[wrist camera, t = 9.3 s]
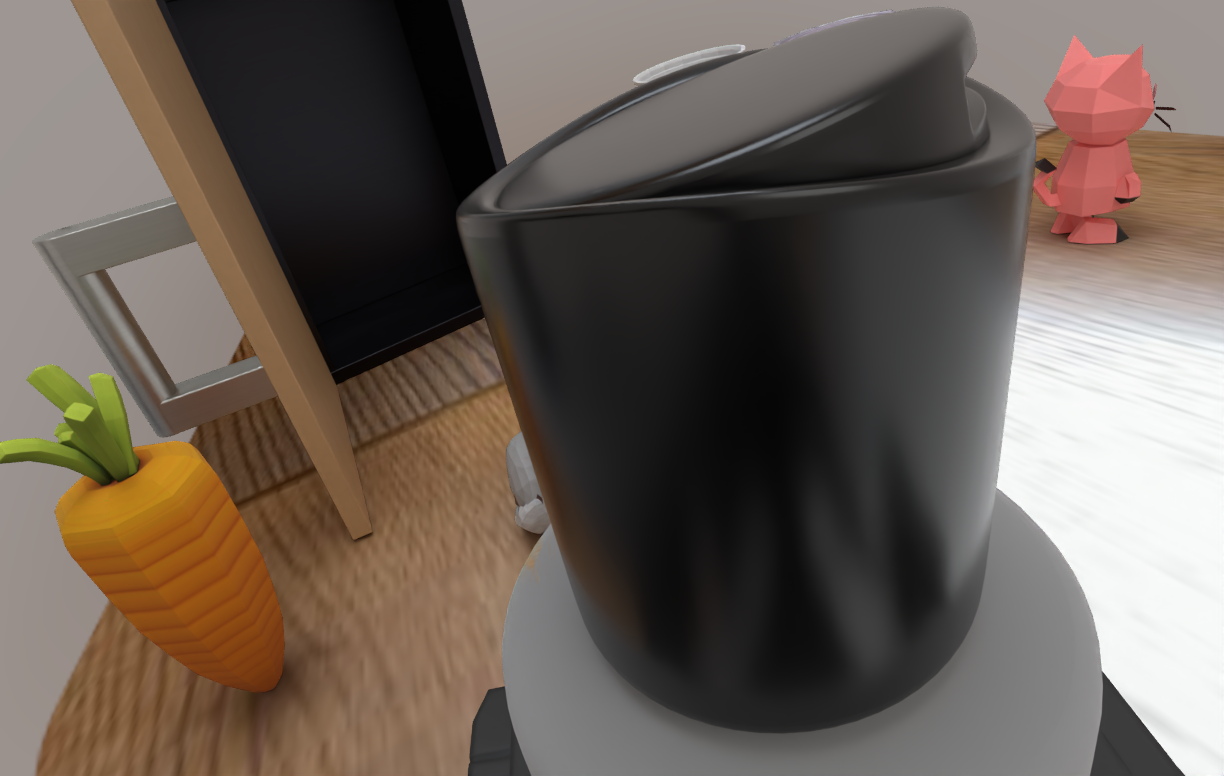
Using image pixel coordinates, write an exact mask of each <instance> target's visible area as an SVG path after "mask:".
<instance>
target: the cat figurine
mask: <svg viewBox="0 0 1224 776" xmlns="http://www.w3.org/2000/svg"><path fill="white" fill-rule="evenodd" d="M1142 54H1143V45H1141V46H1140V47H1139V48H1138V49H1137V50H1136V51H1135V52H1134V53H1133V54H1132V55H1108V56H1103V57H1097V58H1093V57H1092V55H1091V54H1090V53H1089V52H1088V51H1087V49H1086V48H1085V47H1084V46H1083V45H1082V43H1081V42H1080V41H1079V40H1078V39H1077V37H1076V36H1075V35H1074V37H1073V40H1072V42H1071V44H1070V46H1069V49H1068V51H1067V53H1066V56H1065V58H1064V61H1063V63H1062V65H1061V68H1060V70H1059V73H1058V75H1057V77H1056V80H1055V82H1054V83H1053V85H1052V87H1051V89H1050V91H1049V93H1048V94H1047V96H1046V98H1045V100H1044V102H1045V103H1046V106H1047V107H1048V109H1049V111H1050V113H1051V116H1052V117H1053V120H1054V121H1055V123H1056V124H1057V126H1058V128H1059V129H1060V130H1061V131H1063V132H1064V133H1066V134H1067V135H1069V136H1070V137H1072V138H1073V139H1074V140H1071V141H1069V143H1068V145H1067V147H1066V149H1065V151H1064V153H1063V155H1062V157H1061V159H1060V161H1059V163H1058V165H1057V168H1056V167H1055V166H1053V165H1052V164H1051V163H1050V162H1049V161H1048V160H1046V159H1045V158H1044V159H1042V160H1040V161H1037V162H1036V164H1035V167H1036V168H1038V169H1039V170H1041V172H1040V173H1039V175H1038V176H1037V177H1036V178H1035V179H1034V185H1033V190H1034V192H1035V193H1036V194H1037V196H1038V197H1039V199H1040V200H1041V201H1042V203H1043V204H1045V205H1047V206H1053V207H1054V208H1055V210H1056V211H1058V212H1059V214H1058V216H1057V219H1056V221H1055V223H1054V225H1053V227H1052V229H1051V231H1050V232H1053V233H1056V234H1061V233H1070V232H1072V233H1071V234H1070V235H1069V237H1068V238H1067V239H1068V241H1069V242H1074V243H1084V244H1097V243H1117V242H1119V241H1122V240H1124V239H1127V238H1129V237H1128V236H1127V235H1126V234H1125V233H1124V232H1123V230H1122V229H1121V228H1120V226H1119V225H1118V224H1117V223H1116V221H1115V220H1114V219H1108V218H1094V216H1093V215H1096V214H1102V213H1108V212H1113V211H1116V210H1119V209H1122V208H1125V207H1128V206H1129V205H1130V202H1133V201H1134V200H1135V199H1137V198H1138V197H1140V193H1141V181H1140V179H1139V177H1138V175H1137V173H1134V171H1133V166H1132V162H1131V157H1130V153H1129V148H1128V143H1127V140H1126V139H1125V137H1127V136H1128V135H1130V134H1132V133H1133V132H1135V131H1137V130H1139V129H1140V128H1142V127H1143V126H1144V124H1145V123H1146V122H1147V120H1148V118H1149V117H1150V115H1151V114H1152V112H1153V111H1154V103H1155V101H1153V100H1154V97H1155V94H1156V87H1157V85H1156V84H1155V86H1154V89H1153V94H1152V88H1151V81H1150V75H1149V74H1148V73H1147V72H1146V71H1145V69H1144V68H1143V67H1142ZM1156 109H1159V110H1176V109H1174V108H1171V107H1170V108H1169V107H1156ZM1155 116H1156V117H1157V118H1159V119H1160V120H1161V121H1162V122H1163V123H1164V124H1165V125H1166V126H1167V127H1169V129H1170V130H1171V128H1170V125H1168V124H1167V123H1166V122H1165V121H1164V120H1163V119H1162V118H1161V117H1159V116H1158V115H1157V114H1156V113H1155ZM1171 133H1172V132H1171ZM1053 173H1054V174H1053ZM1052 174H1053V176H1052V187H1051V193H1050V191H1049V190H1048V188H1047V186H1046V185H1045V182H1046V181H1047V179H1048V178H1049V177H1050V176H1051V175H1052Z"/></svg>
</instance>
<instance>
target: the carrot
mask: <svg viewBox="0 0 1224 776" xmlns="http://www.w3.org/2000/svg"><path fill="white" fill-rule="evenodd" d="M89 378H90V382H91V385H92V388H93V392H94V395H95V398H96V399H95V398H93V396H91V394H89V392H87V391H86V390H85V389H84V388H83V387H82V386H81V385H80V384H79V383H78V382H77V381H76V380H74V379H73V378H72V377H71V376H70V375H69V374H67V373H66V372H65V371H63V370H62V369H61V368H60V367H59V366H55V365H51V364H50V365H47V366H42V367H38V368H36V369H35V370H34V371H33V372H32V374H31V375H30V376H29V377H28V378H27V381H28V382H29V383H30V384H31V385H33V386H34V387H35V388H36V389H37V390H38V391H39V392H40V393H42V394H43V395H44V396H45V397H46V398H47V399H48V400H50V401H51V402H52V403H53V404H54V405H56V406H57V407H58V408H59V409H61V410H62V411H63V412H64V413H65V414H64V415H63V417H64V419H65V421H66V423H61V424H59V425H58V426H57V428H56V430H55V436H56V437H58V438H59V439H58V443H55V442H51V441H47V440H43V439H40V438H29V439H28V438H27V439H14V440H9V441H3V442H0V464H2V463H12V462H23V461H34V462H41V463H47V464H53V465H57V466H61V467H67V468H69V469H71V470H74V471H76V472H79V473H81V474H83V475H84V476H83V477H82V478H81V479H80V480H78V481H77V482H76V483H75V484H74V485H73V486H72V487H71V488H70V489H69V490H68V491H67V492H66V493H65V494H64V495H63V496H62V497H61V498H60V499H59V502H58V504H57V507H56V509H55V514H56V518H57V521H58V524H59V528H60V531H61V535H62V538H63V541H64V544H65V547H66V548H67V550H68V551H69V553H70V555H71V556H72V558H73V559H74V560H75V561H76V562H77V563H78V564H79V566H80V567H81V568H82V569H83V570H84V571H85V572H86V573H87V575H88V576H89V577H90V578H91V579H92V581H93V582H94V583H95V584H96V585H97V586H98V587H99V589H100V590H101V591H102V592H103V593H104V594H105V595H106V597H107V598H108V599H109V600H110V601H111V602H112V603H113V604H114V605H115V606H116V607H117V608H118V609H119V610H120V611H121V612H122V613H123V615H124V616H125V617H126V618H127V619H128V620H129V621H130V622H131V623H132V624H133V625H134V626H135V627H136V628H137V629H138V630H139V631H140V632H141V633H142V634H143V635H145V636H146V637H147V638H148V639H150V640H151V641H152V642H153V643H155V644H156V645H157V646H159V647H160V648H161V649H162V650H164V651H165V652H166V653H168V654H169V655H170V656H172V657H173V658H175V659H176V660H178V661H179V662H180V663H182V664H183V665H185V666H186V667H188V668H189V669H191V670H192V671H194V672H195V673H196V674H198V675H201V676H203V677H206V678H208V679H210V680H213V681H215V682H218V683H220V684H223V685H225V686H229V687H233V688H238V689H242V690H247V691H251V692H266V691H270V690H272V689H274V688H275V686H276V685H277V683H278V681H279V679H280V677H281V675H282V671H283V660H284V648H285V642H284V629H283V617H282V614H281V610H280V607H279V604H278V600H277V597H276V594H275V590H274V587H273V584H272V581H271V579H270V576H269V573H268V570H267V567H266V565H265V562H264V559H263V557H262V555H261V553H260V551H259V549H258V547H257V545H256V543H255V541H254V540H253V538H252V536H251V534H250V532H249V530H248V528H247V526H246V524H245V523H244V521H243V519H242V517H241V515H240V513H239V512H238V510H237V508H236V507H235V505H234V503H233V501H232V500H231V498H230V496H229V494H228V493H227V491H226V489H225V488H224V486H223V484H222V482H221V481H220V479H219V477H218V476H217V474H216V473H215V472H214V471H213V469H212V468H211V467H210V465H209V464H208V463H207V461H206V460H205V459H204V457H203V456H202V455H201V454H200V452H199V451H198V450H197V449H196V448H195V447H193V446H192V445H191V444H190V443H186V442H179V441H172V442H165V443H158V444H152V445H145V446H138V447H132V442H131V436H130V431H129V424H128V419H127V414H126V410H125V407H124V404H123V400H122V397H121V394H120V391H119V389H118V387H117V385H116V382H115V380H114V378H113V376H110V375H106V374H102V373H97V374H94V375H91V376H89Z"/></svg>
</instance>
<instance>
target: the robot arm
mask: <svg viewBox="0 0 1224 776" xmlns="http://www.w3.org/2000/svg"><path fill="white" fill-rule="evenodd" d="M1102 681H1103V694H1102V715H1101V720H1100V726H1099V731H1098V737H1097V742H1096V747H1095V752H1094V758H1093V763H1092V768H1091V773H1090V776H1185V775H1184V774H1183V773H1182V772H1181V770H1180V769H1179V768H1178V767H1177V766H1176V765H1175V763H1174V762H1173V761H1172V759H1171V758H1170V757H1169V756H1168V754H1167V753H1166V752H1165V751H1164V749H1163V748H1162V747H1161V745H1160V744H1159V743H1158V742H1157V740H1156V739H1155V738H1154V737H1153V735H1152V734H1151V733H1150V731H1149V730H1148V729H1147V728H1146V726H1145V725H1144V724H1143V722H1142V721H1141V720H1140V719H1139V717H1138V716H1137V715H1136V714H1135V712H1134V711H1133V710H1132V708H1131V707H1130V706H1129V705H1128V703H1127V702H1126V701H1125V700H1124V698H1123V697H1122V696H1121V694H1120V693H1119V692H1118V691H1117V689H1116V688H1115V687H1114V686H1113V684H1112V683H1111V682H1110V680H1109V679H1108V678H1107V677H1106V675H1105V674H1104V673H1103V672H1102ZM468 776H531V774H530V771H529V769H528V766H527V764H526V761H525V759H524V756H523V754H522V751H521V748H520V745H519V743H518V740H517V737H516V734H515V731H514V728H513V724H512V720H511V717H510V713H509V709H508V704H507V697H506V690H505V687H500V688H495V689H490V690H488V692H487V694H486V696H485V698H484V700H483V702H482V704H481V706H480V708H479V710H478V712H477V714H476V717H475V719H474V721H473V725H472V736H471V746H470V764H469V768H468Z"/></svg>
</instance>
